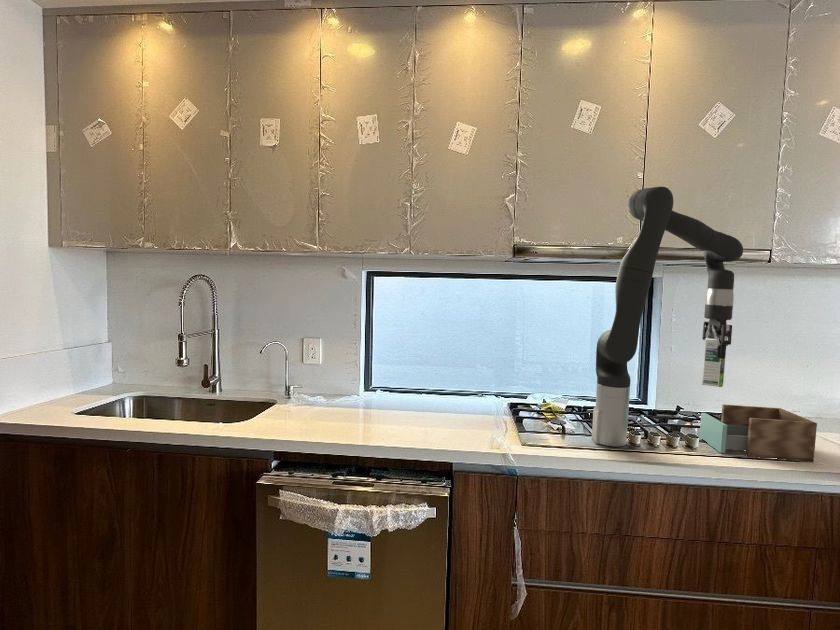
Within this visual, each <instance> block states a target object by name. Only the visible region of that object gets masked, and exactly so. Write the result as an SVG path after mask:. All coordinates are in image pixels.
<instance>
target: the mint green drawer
mask: <svg viewBox="0 0 840 630" xmlns="http://www.w3.org/2000/svg"><path fill="white" fill-rule="evenodd" d="M699 427H700V428H699V437H701V438H702V439H704V440H705V441H706V442H707V443H708V444H707V443H706V442H705V443H706V444H707V445H709V446H711V447H712V448H713V449H714V448H715V451H717V452H719V453H721V454H726V450H734V451H735V450H736V451H744V450H747V441H748V429H749V426H741V425H726V424H724V423H722V422H721V420H719V419H717V418H716V417H713V416H711V415H710V414H708V413H707V412H701V413H700V425H699ZM702 439H701V440H702Z"/></svg>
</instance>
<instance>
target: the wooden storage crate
mask: <svg viewBox="0 0 840 630" xmlns="http://www.w3.org/2000/svg"><path fill="white" fill-rule="evenodd" d="M721 406H722V407H721V419H720V422H722V423H724V424H726V425H741V426H749V429H748V441H747V450H746V451H747V452H745V453H746V454H745V456H746V455H747V456H748V457H752V459H761V458H777V459H786V460H785V461H788V460H798V461H797V462H803V463H804V462H805V463H814V459H815V449H816V441H817V440H816V437H817V428H818V427H817V426H818V423H817V422H815V421H814V420H810V419H809V418H808V419H807V418H805V417H803V416H800V415H798V414H796V413H793V412H792V411H791V412H790V411H788V410H786V409H783V408H781V407H767V406H753V405H752V406H751V405H739V404H738V405H737V404H736V405H735V404H722V405H721ZM747 456H746V457H747ZM748 457H747V458H748ZM753 457H755V458H753ZM758 457H760V458H758Z"/></svg>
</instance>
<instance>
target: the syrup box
mask: <svg viewBox="0 0 840 630" xmlns="http://www.w3.org/2000/svg"><path fill="white" fill-rule="evenodd" d="M717 347H718V343H717V340H716V339H713V338H706V340H704V351H703V352H704V353H703V365H702V366H703V367H702V379H701V385H702V386H709V387H710V386H711V387H716V388H717V387H718V388H723V387H724V382H725V381H724V380H725V369H726V368H725V366H726V355H727V354H726V355H725V358H724V359H723V358H717Z"/></svg>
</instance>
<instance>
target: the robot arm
mask: <svg viewBox="0 0 840 630" xmlns="http://www.w3.org/2000/svg"><path fill="white" fill-rule="evenodd" d="M627 201H628V202H627V208H628V212H629V213H630V215H631V216H632V217H633V218H634V219H637V220H639V221H641V222H642V225H641V228H640V231H639V233H638V236H637V238H636V239H635V241H634V242H633V243H632V245H631V246H630V247H629V249H628V250H627V251H626V253H624V254H625V255H624V256H623V258H622V259H621V262H620V263H619V267H618V273H617V277H616V280H615V281H616V282H615V290H614V291H615V314H614V319H613V321H612V326H611V328H610V329H609V330H606V331H604V332H602V333H601V335H600V336H599V338H598V340H597V343H596V351H595V374H596V379H597V380H596V393H595V406H594V407H593V412H592V427H591V439H592V440H593V442H594V443H595V444H598V445H603V446H606V447H607V446H608V447H623V446H626V445H627V438H628V422H629V409H630V408H629V406H630V392H631V376H630V373H629V371H628V362H631V360H632V359H634V356H635V355H636V352H637V348H638V343H639V342H638V341H639V334H640V327H641V321H642V316H643V313H644V310H645V305H646V301H647V297H648V293H649V289H650V287H651V283H652V279H653V275H654V271H655V264H656V262H657V257H658V255H659V251H660V247H661V244H662V240H663V237H664V234H665V232H667V233H670V234H671V235H673V236H676V237H678V239H681V240H683V241H684V242H686V243H687V244H689V245H691V246H692V247H694V248H695V249H697V250H699V251H703V252H704V254H703V255H704V260H705V265H706V271H707V275H708V279H707V289H706V294H705V303H704V304H705V305H704V318H705V319H708V321H703V327H702V337H701V338H702V340H703V341H705V340H706V338H713V339H716V340H717V343H718V347H717V358H723V359H724V358H725V359H726V357H725V355H727V347H728V346H731V344H732V334H733V324H727V321H731V320H732V319H733V309H734V300H735V299H734V298H735V296H734V287H735V273H734V271H732V270H729V269H726V268H725V264H724V263H733V262H736V261H738V260H740V259H741V257H742V256H743V253H744V248H743V244H742V243H741V242H740V241H739V239H738V238H736V237H735V236H732V235H730V234H726V233H724V232H721V231H718V230H715V229H713V228H712V227H710V226H709V225H707V223H704V222H702V220H701V221H700V220H699V219H697V218H695V217H691V216H688V215H686V214H683V213H679V212H677V211H674V210H673V208H674V196H673V193H672V191H671V190H670V189H669V188H668V187H666V186H653V187H648V188H647V187H646V188H642V189H641V188H640V189H638V190H636V191H634V192H632V193H631V194H630V196H629V198H628V200H627Z"/></svg>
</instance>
